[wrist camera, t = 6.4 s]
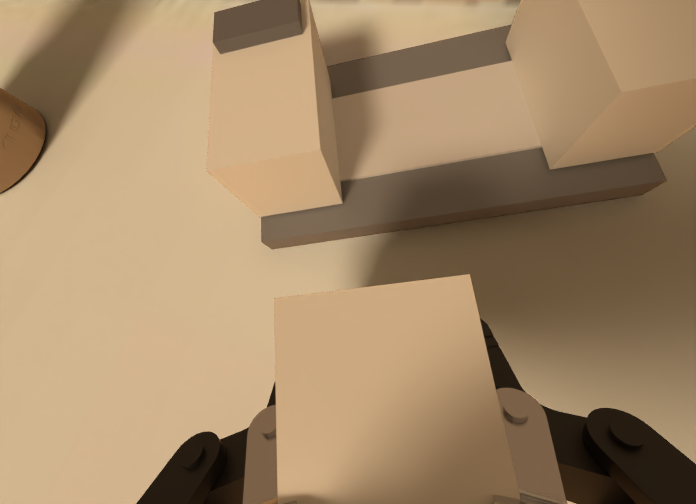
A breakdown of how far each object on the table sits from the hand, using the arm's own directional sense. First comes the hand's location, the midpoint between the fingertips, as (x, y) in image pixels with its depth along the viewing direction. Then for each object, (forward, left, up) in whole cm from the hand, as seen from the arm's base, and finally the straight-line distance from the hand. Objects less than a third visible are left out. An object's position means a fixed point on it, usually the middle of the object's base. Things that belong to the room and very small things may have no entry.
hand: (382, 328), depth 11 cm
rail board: (+4, +12, -5) cm, 13 cm away
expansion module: (0, -2, -5) cm, 5 cm away
